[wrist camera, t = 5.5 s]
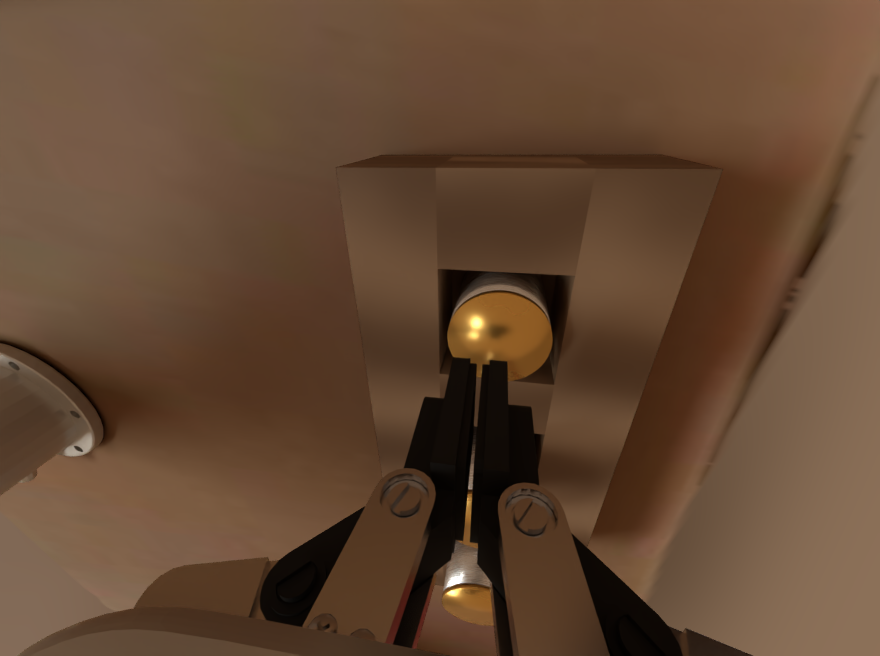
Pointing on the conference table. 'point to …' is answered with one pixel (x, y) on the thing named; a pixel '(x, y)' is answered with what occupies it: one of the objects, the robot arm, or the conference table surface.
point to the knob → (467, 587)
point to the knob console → (524, 251)
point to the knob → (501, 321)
